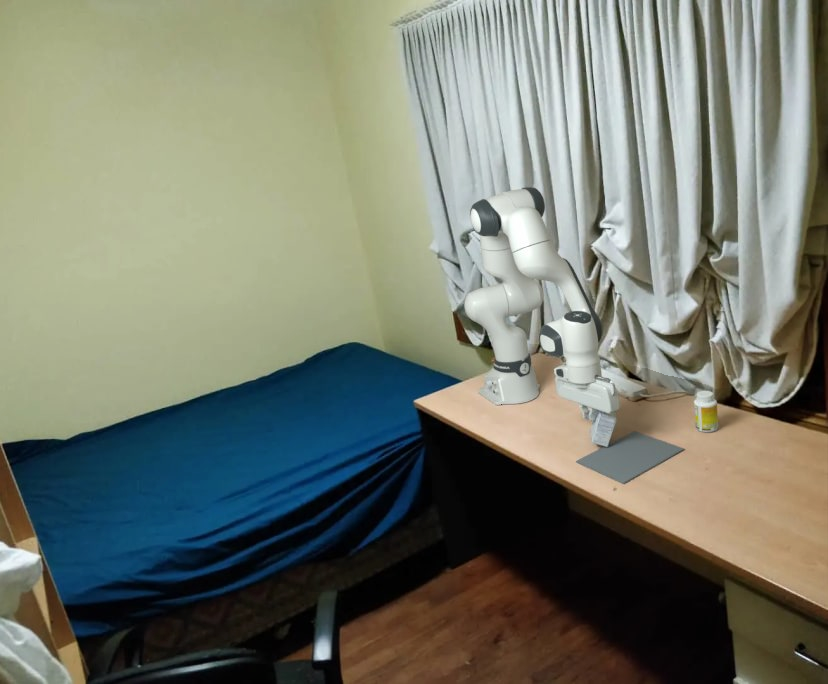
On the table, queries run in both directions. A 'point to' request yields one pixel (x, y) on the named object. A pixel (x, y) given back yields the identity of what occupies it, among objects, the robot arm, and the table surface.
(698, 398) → the supplement bottle
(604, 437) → the medicine box
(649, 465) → the mat
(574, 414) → the table surface
